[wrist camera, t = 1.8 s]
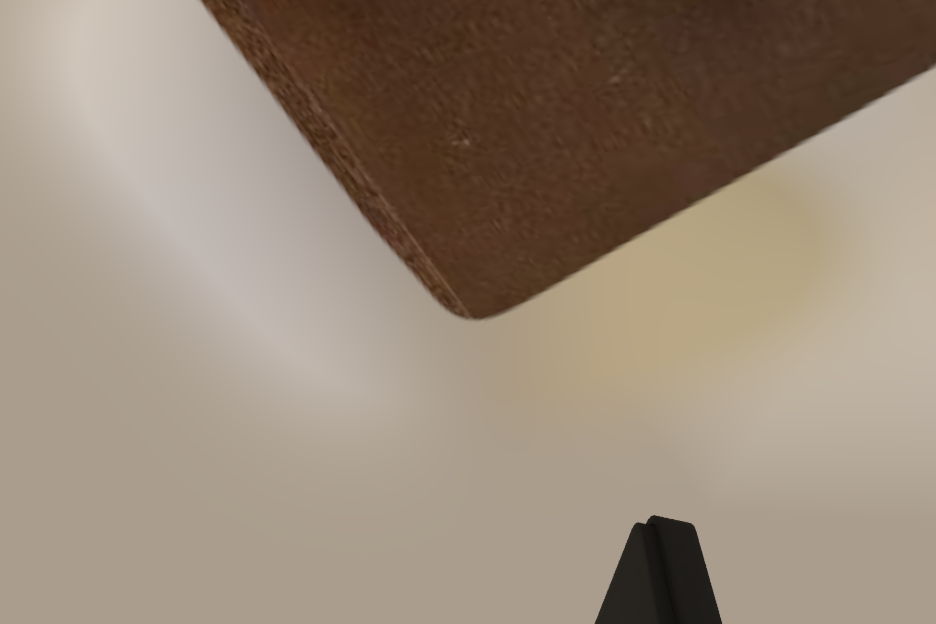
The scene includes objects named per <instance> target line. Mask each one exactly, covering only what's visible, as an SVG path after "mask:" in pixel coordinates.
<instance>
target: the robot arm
mask: <svg viewBox="0 0 936 624" xmlns="http://www.w3.org/2000/svg"><path fill="white" fill-rule="evenodd" d="M595 624H722V621H721V618H720V614H719V610H718V607H717V603H716V600H715V596H714V593H713V589H712V586H711V582H710V579H709V575H708V571H707V568H706V564H705V561H704V558H703V554H702V551H701V547H700V543H699V540H698V536H697V532H696V530H695V527H694V526H693V525H692V524H691V523H687V522H683V521H678V520H674V519H669V518H664V517H660V516H655V515H654V516H651V517H650V518H649V519H648V521H647V523H646V524H643V523H636V524H635V525H634V526H633V528H632V530H631V533H630V535H629V538H628V540H627V543H626V545H625V548H624V551H623V553H622V556H621V558H620V561H619V563H618V566H617V568H616V571H615V573H614V576H613V579H612V581H611V584H610V587H609V589H608V591H607V594H606V596H605V599H604V601H603V604H602V606H601V609H600V612H599V614H598V617H597V619H596V622H595Z"/></svg>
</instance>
